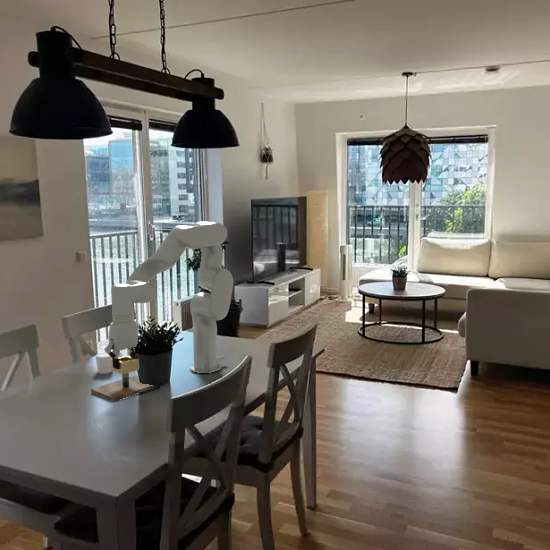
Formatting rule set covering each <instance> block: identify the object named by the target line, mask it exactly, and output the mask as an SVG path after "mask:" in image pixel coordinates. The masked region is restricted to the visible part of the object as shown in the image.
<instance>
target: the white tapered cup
mask: <svg viewBox="0 0 550 550" xmlns="http://www.w3.org/2000/svg"><path fill="white" fill-rule="evenodd" d="M111 360H112V358H111V356H109V355H108V353H106V352H100V353H97V354H95V361H96V362H95V363H96V369H97V374H101V375H107V374H111V373H112V372H113V371H112V367H111Z"/></svg>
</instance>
